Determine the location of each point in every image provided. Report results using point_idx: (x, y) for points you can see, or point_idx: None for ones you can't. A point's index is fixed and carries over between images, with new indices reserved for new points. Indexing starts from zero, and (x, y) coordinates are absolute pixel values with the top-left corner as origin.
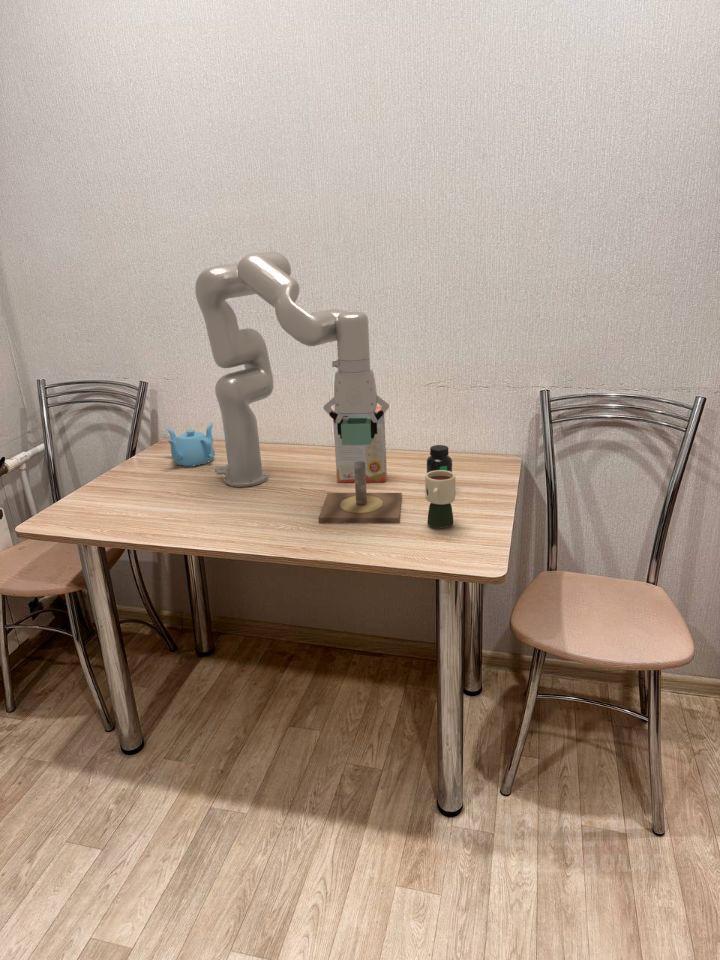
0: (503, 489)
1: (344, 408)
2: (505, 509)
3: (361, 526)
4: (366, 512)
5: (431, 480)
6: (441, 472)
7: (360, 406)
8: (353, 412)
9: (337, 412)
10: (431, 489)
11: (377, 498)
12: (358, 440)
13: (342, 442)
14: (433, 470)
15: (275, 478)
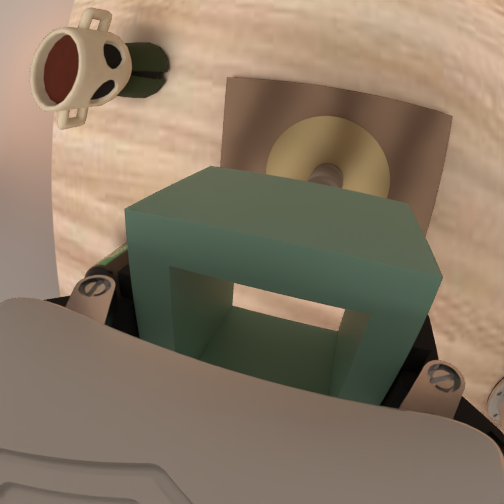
0: (59, 234)
1: (389, 481)
2: (53, 148)
3: (333, 69)
4: (315, 117)
5: (74, 30)
6: (53, 105)
7: (70, 408)
8: (239, 380)
9: (484, 434)
10: (94, 32)
11: None
12: (285, 186)
13: (407, 209)
14: (123, 266)
15: (479, 390)
